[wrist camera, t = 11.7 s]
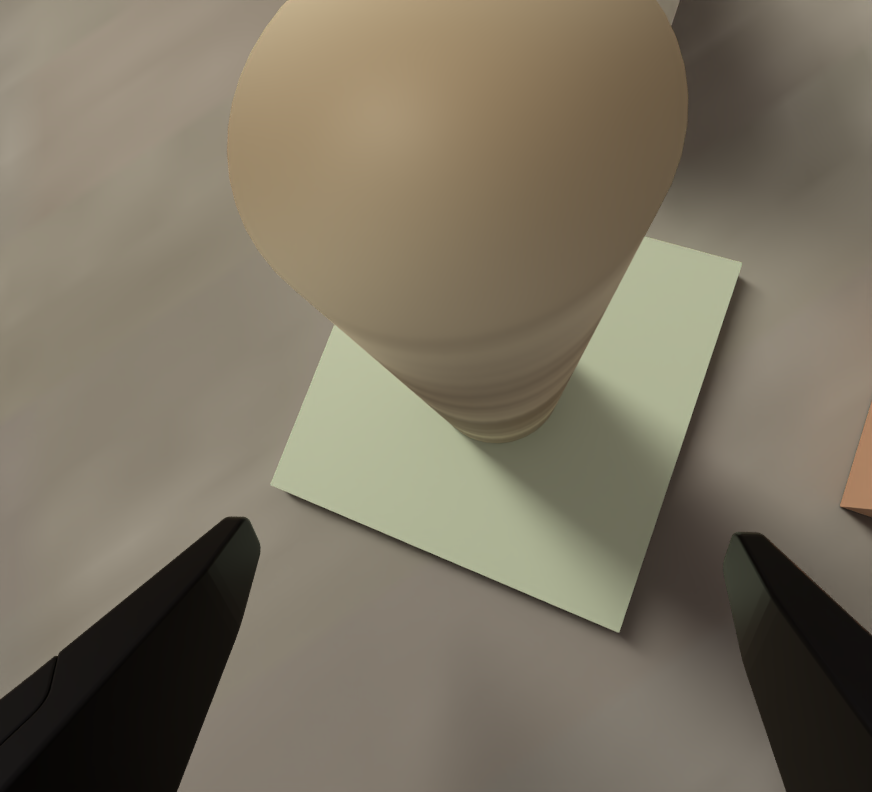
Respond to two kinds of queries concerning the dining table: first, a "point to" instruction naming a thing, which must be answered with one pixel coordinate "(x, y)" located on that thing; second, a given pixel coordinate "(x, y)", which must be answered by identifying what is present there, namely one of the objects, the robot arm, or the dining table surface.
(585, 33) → the beige ribbed peg
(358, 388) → the sage board
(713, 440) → the dining table surface
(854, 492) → the terracotta socket
